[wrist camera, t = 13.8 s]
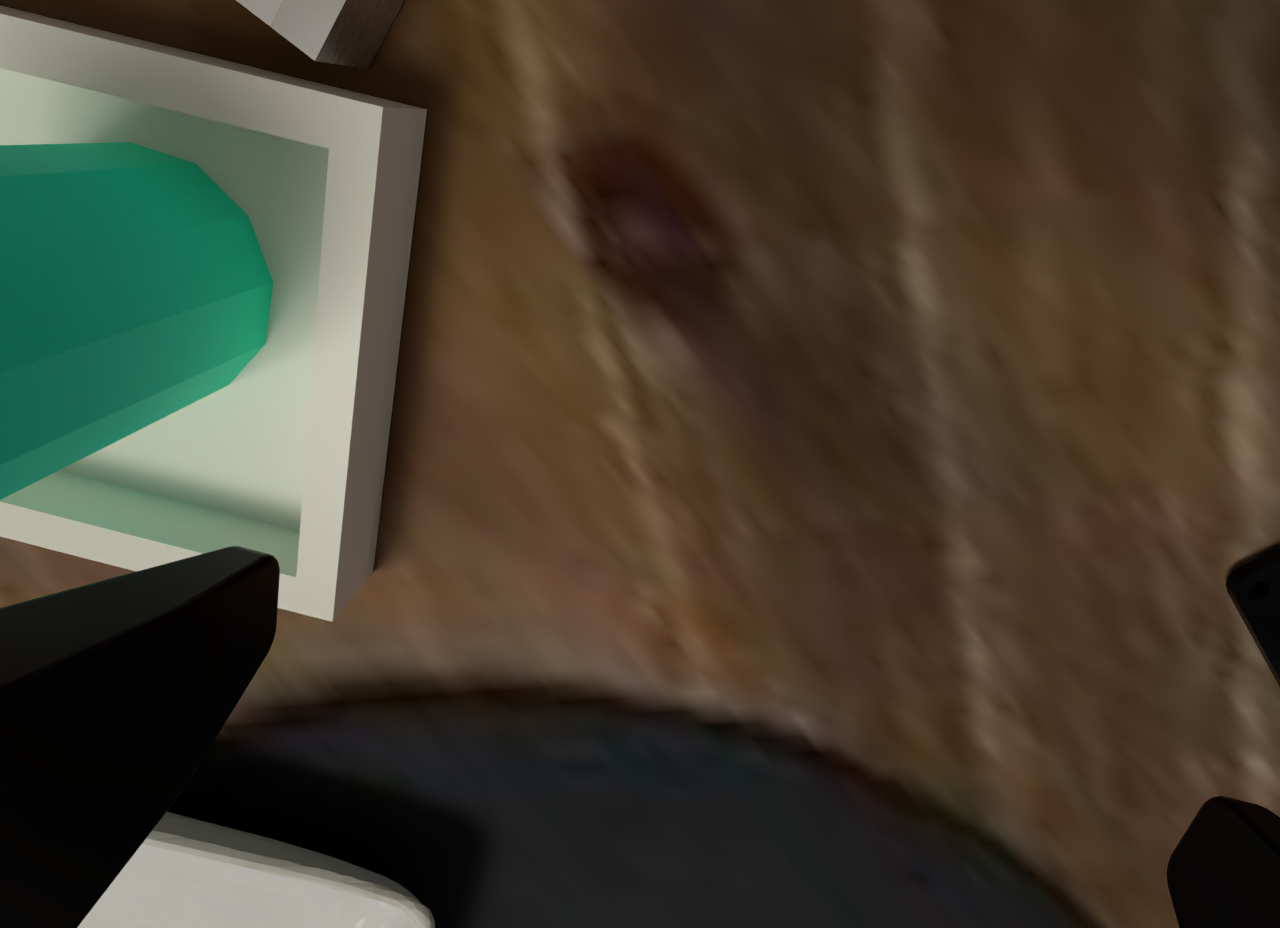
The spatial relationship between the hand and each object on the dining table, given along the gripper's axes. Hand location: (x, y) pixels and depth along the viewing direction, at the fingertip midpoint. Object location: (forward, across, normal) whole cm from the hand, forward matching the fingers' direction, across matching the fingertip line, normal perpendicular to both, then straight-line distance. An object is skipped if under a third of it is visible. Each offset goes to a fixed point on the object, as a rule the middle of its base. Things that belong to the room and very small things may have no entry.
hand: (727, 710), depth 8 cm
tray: (+13, +14, +2) cm, 19 cm away
